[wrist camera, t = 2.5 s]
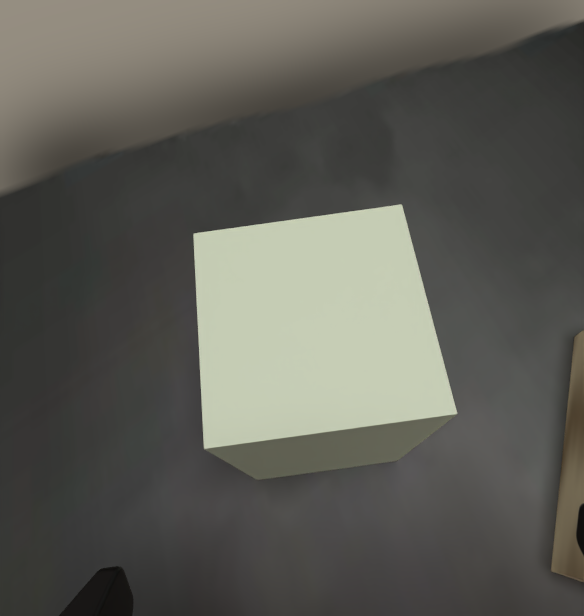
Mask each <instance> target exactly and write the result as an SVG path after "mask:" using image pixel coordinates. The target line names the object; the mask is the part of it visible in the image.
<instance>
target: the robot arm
mask: <svg viewBox="0 0 584 616" xmlns="http://www.w3.org/2000/svg"><path fill="white" fill-rule="evenodd" d="M576 539H577V543H578V546H579V548H580V550H581V552H582V554H583V556H584V503H583V504H581V505H580V507H579V512H578V521H577V529H576ZM132 613H133V595H132V592H131V589H130V586H129V583H128V580H127V578H126V575H125V572H124V570H123V568H122V567H119V566H116V567H109V568H103V569H100V570H99V571H98V572H97V573H96V574H95V575H94V576H93V577H92V578H91V579H90V581H89V582H88V583H87V584H86V585H85V586H84V588H83V589H82V590H81V591H80V592H79V593H78V594H77V596H76V597H75V598H74V599H73V600H72V601H71V603H70V604H69V605H68V606H67V607H66V608H65V609H64V611H63V612H62V613H61V614H60V615H59V616H132Z"/></svg>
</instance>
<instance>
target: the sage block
mask: <svg viewBox="0 0 584 616" xmlns="http://www.w3.org/2000/svg"><path fill="white" fill-rule="evenodd" d="M194 254H195V275H196V295H197V316H198V336H199V357H200V377H201V398H202V418H203V439H204V449H205V450H207V451H208V452H210V453H212V454H214V455H215V456H217V457H219V458H220V459H222V460H224V461H226V462H227V463H229V464H231V465H232V466H234V467H236V468H237V469H239V470H241V471H243V472H244V473H246V474H248V475H249V476H251V477H253V478H255V479H256V480H262V479H269V478H277V477H284V476H291V475H298V474H306V473H313V472H320V471H327V470H335V469H342V468H349V467H356V466H364V465H371V464H378V463H386V462H393V461H398V460H399V459H400V458H402V457H403V456H404V455H405V454H407V453H408V452H409V451H411V450H412V449H413V448H414V447H416V446H417V445H418V444H419V443H421V442H422V441H423V440H425V439H426V438H427V437H428V436H430V435H431V434H432V433H434V432H435V431H436V430H437V429H439V428H440V427H441V426H443V425H444V424H445V423H446V422H448V421H449V420H450V419H451V418H453V417H454V416H455V415H457V411H456V407H455V404H454V400H453V396H452V392H451V389H450V385H449V381H448V377H447V373H446V370H445V366H444V362H443V358H442V355H441V351H440V347H439V343H438V339H437V336H436V332H435V328H434V324H433V321H432V317H431V313H430V309H429V305H428V302H427V298H426V294H425V290H424V287H423V283H422V279H421V275H420V272H419V268H418V264H417V260H416V256H415V253H414V249H413V245H412V241H411V238H410V234H409V230H408V226H407V222H406V219H405V215H404V211H403V207H402V205H395V206H388V207H381V208H374V209H366V210H359V211H352V212H345V213H338V214H331V215H323V216H316V217H309V218H302V219H295V220H288V221H281V222H273V223H266V224H259V225H252V226H245V227H238V228H230V229H223V230H216V231H209V232H202V233H195V234H194Z"/></svg>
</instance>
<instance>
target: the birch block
mask: <svg viewBox="0 0 584 616" xmlns="http://www.w3.org/2000/svg"><path fill="white" fill-rule="evenodd" d="M583 503H584V330H583V331H582V332H580V333H579V334H578V335H576V336H575V338H574V348H573V358H572V368H571V377H570V387H569V397H568V407H567V417H566V427H565V437H564V447H563V457H562V467H561V477H560V487H559V496H558V506H557V516H556V526H555V536H554V546H553V556H552V566H551V571H552V572H555V573H558V574H561V575H564V576H567V577H569V578H572V579H575V580H578V581H581V582H584V556H583V554H582V552H581V550H580V548H579V546H578V543H577V539H576V529H577V521H578V512H579V507H580V505H581V504H583Z"/></svg>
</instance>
